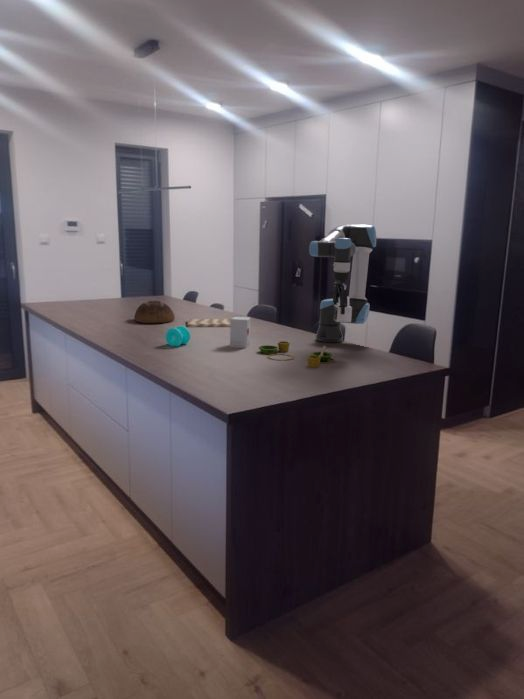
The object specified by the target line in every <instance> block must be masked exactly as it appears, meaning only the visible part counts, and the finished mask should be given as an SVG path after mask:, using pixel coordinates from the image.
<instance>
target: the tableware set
mask: <svg viewBox="0 0 524 699" xmlns="http://www.w3.org/2000/svg"><path fill="white" fill-rule="evenodd" d="M290 343H291V342H290V341H287V340H283V341H282V340H281V341H277V345H278V346H276V345H269V344H267V345H264V344H263V345H259V346H258V350H260V352H261V353H262V354H265V355H267V358H268V359H270V360H273V361H281V360H285V361H291V359H292V360H294V359H295V356H294V355H291V354H286V351H287V352H289V349H290ZM326 350H327V346H326V345H323V346H322V348H321V351H314V352H311V354H310V355H307V365H308V366H307V367H309V368H313V367H316V368H320V365H323V364H324V365H326V364H327V363H329V364H333V363H335V361H336V360H335V358H332V357H333V353H331V352H328V351H327V352H326ZM277 351H279V352H281V351H282V352H283V353H276V352H277ZM286 355H287V357H290V356H291V358H287V359H286V358H285V359H277V358H272V357H274V356H286ZM330 359H331V360H330ZM329 360H330V361H329ZM332 360H333V361H332ZM319 363H321V364H319Z"/></svg>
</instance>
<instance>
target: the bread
mask: <svg viewBox="0 0 524 699" xmlns="http://www.w3.org/2000/svg"><path fill="white" fill-rule="evenodd" d="M133 318H134V321H135V322H137V323H140V324H141V323H142V324H166V323H167V324H168V323H171V322H173V321H174V320H175V318H176V317H175V313H174V311H173V309H172V308H171V307H170V306H169V305H168V304H166V303H165V302H163V301H160V300H148V301H146V302H143V303H141V304H140V305H138V307H137V309H136V310H135V313H134V317H133Z"/></svg>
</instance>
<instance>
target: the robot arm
mask: <svg viewBox="0 0 524 699" xmlns="http://www.w3.org/2000/svg"><path fill="white" fill-rule="evenodd" d="M376 247H377V231H376V226H374V225H372V224H371V225H370V224H343V225H340V226H336V227H334V228H333V229H331V230H330V231H329V232H328V234H327V235H326V236H324V237H323V238H321V239H320V240H313V241H311V242H310V243H309V247H308V249H309V250H308V251H309V255H310V256H311V257H317V258H333V264H332V266H333V273H332V274H333V277H332V278H333V280H335V282H333V296H332V298H326V299H323V300H321V301H320V304H319V305H320V306H319V322H318V324H319V325H318V329H317V331H316V334H315V340H316V341H317V340H318V342H321V341H322V342H321V343H330V344H331V343H340V342H341V343H342V342H343V339H344V336H343V333H342V329H341V323H344V324H355V325H364V324H365V323H366V322H367V320H368V317H369V314H370V307H371V305H370V303H369V302H368V298H366V288H367V280H368V279H367V278H368V271H369V269H368V268H369V262H370V261H369V259H370V258H369V257H370V254H371V252H372V251H374V250H373V248H376ZM351 258H352V264H351ZM350 270H351V273H350ZM349 280H350V284H349V285H347V284H346V281H349ZM348 287H349V292H348ZM348 293H349V294H348ZM338 296H340V306H339V321H345V307H347V296H349V297H350V305H349V306H350V307H352V316H351V322H336V321H335V320H334V305H337V297H338Z"/></svg>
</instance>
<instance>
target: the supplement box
mask: <svg viewBox="0 0 524 699" xmlns="http://www.w3.org/2000/svg"><path fill="white" fill-rule="evenodd" d="M230 319H231V323H230V327H229V328H230V329H229V330H230V334H229V337H230V338H229V348H237V349H238V348H239V349H247V348H248V347H249V346H250V345H251V317H247V316H234V317H232V318H230Z"/></svg>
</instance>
